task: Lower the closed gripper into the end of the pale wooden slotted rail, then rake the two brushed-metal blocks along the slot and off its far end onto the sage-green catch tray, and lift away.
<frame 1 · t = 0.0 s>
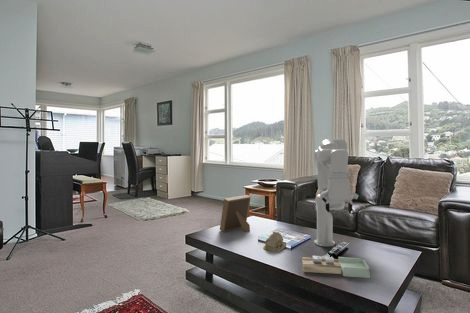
hand: (338, 212, 131), 31 cm above the table, tool pointing down, fingers open, 9 cm apart
photo frame: (237, 230, 205), on the table
chip far: (316, 263, 141), point 3 cm above the table, touching slot rail
tray: (353, 271, 138), on the table
chip near: (329, 263, 140), point 3 cm above the table, touching slot rail
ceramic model: (274, 248, 170), on the table
adjustable wrench: (331, 256, 158), on the table
slot rail: (321, 269, 140), on the table
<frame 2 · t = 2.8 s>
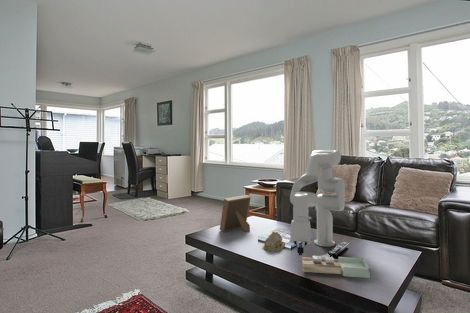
hand: (300, 254, 141), 7 cm above the table, tool pointing down, fingers closed
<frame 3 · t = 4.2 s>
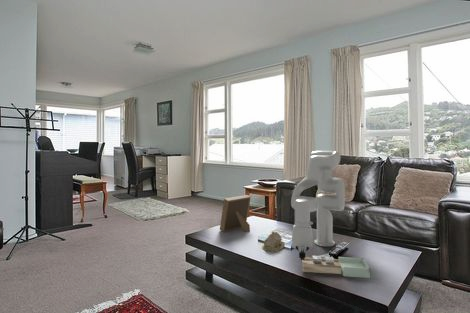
hand: (302, 259, 142), 5 cm above the table, tool pointing down, fingers closed
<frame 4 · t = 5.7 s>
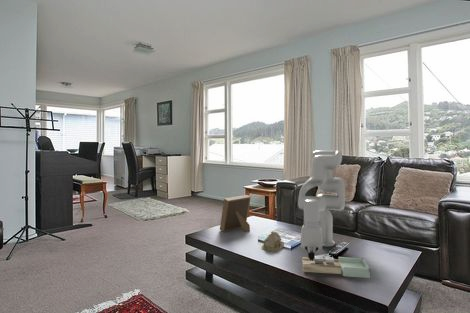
hand: (311, 259, 141), 5 cm above the table, tool pointing down, fingers closed
chip far: (318, 263, 140), point 3 cm above the table, touching gripper, slot rail
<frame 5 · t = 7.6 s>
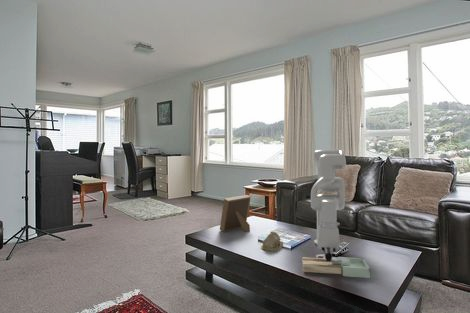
hand: (328, 260, 139), 5 cm above the table, tool pointing down, fingers closed
chip far: (335, 264, 139), point 3 cm above the table, touching gripper
chip near: (344, 265, 138), point 3 cm above the table, tilted 6°
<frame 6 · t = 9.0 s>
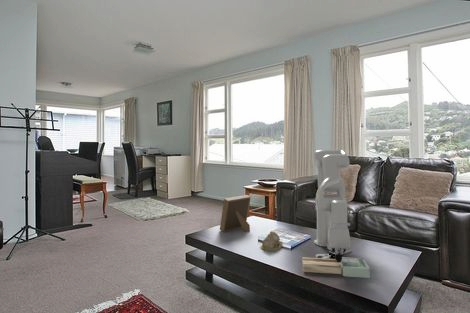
hand: (338, 261, 139), 5 cm above the table, tool pointing down, fingers closed
chip far: (346, 266, 138), point 3 cm above the table, touching chip near, gripper
chip near: (354, 266, 137), point 3 cm above the table, touching chip far
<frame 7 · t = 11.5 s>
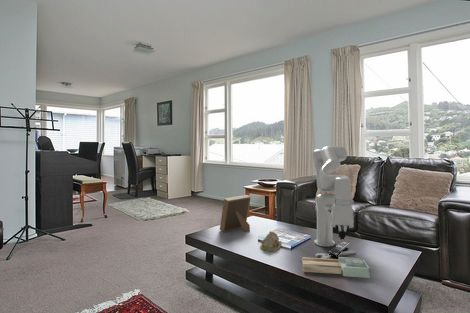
hand: (341, 238, 138), 16 cm above the table, tool pointing down, fingers closed
chip far: (349, 266, 138), point 2 cm above the table, touching chip near, tray
chip near: (357, 266, 137), point 2 cm above the table, touching chip far, tray
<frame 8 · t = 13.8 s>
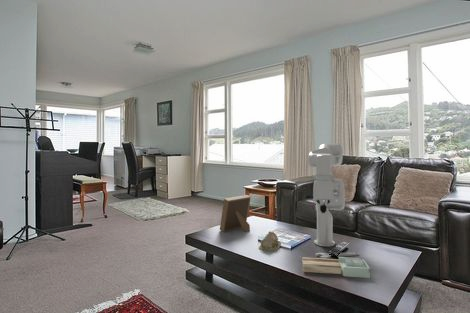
hand: (323, 212, 147), 27 cm above the table, tool pointing down, fingers closed
at the end: chip near inside the target area on the tray (1.4 cm from its centre), point 2.5 cm above the tray's base; chip far inside the target area on the tray (2.6 cm from its centre), point 2.5 cm above the tray's base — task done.
